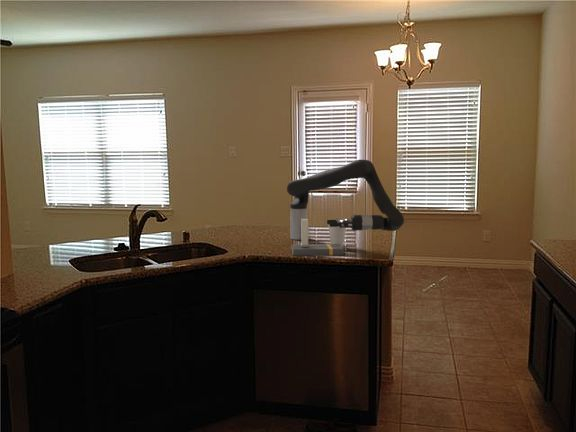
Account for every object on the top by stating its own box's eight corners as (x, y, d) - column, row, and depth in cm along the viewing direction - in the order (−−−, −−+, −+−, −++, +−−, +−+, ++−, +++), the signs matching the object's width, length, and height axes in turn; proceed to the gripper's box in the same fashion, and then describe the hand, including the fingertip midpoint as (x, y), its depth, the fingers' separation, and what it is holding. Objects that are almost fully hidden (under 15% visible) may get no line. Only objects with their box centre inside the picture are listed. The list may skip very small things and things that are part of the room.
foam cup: (348, 245, 247) (348, 220, 246) (344, 248, 239) (344, 223, 237) (330, 244, 250) (330, 220, 249) (325, 247, 242) (326, 222, 240)
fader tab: (301, 247, 226) (301, 220, 224) (300, 245, 230) (300, 218, 229) (308, 246, 226) (308, 220, 225) (308, 245, 231) (308, 218, 229)
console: (293, 255, 222) (293, 249, 222) (291, 250, 234) (291, 244, 234) (343, 255, 224) (343, 248, 223) (339, 250, 236) (339, 243, 235)
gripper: (358, 213, 235) (326, 213, 234) (364, 216, 221) (330, 217, 220) (358, 228, 236) (326, 228, 235) (364, 232, 221) (330, 233, 221)
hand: (328, 223), depth 227 cm, fingers open, 8 cm apart
